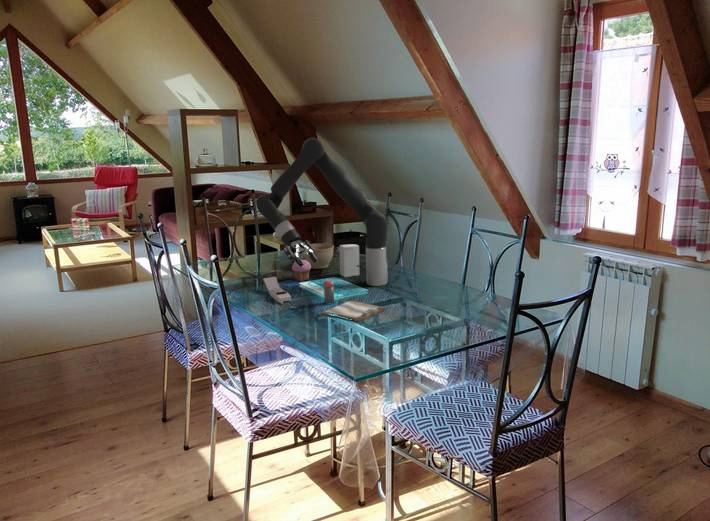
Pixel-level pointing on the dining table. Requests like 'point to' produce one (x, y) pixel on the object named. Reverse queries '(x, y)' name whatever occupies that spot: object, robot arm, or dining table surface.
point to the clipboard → (355, 310)
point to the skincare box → (349, 260)
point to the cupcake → (302, 270)
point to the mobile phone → (276, 290)
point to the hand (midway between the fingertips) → (309, 263)
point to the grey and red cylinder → (329, 291)
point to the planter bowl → (321, 255)
